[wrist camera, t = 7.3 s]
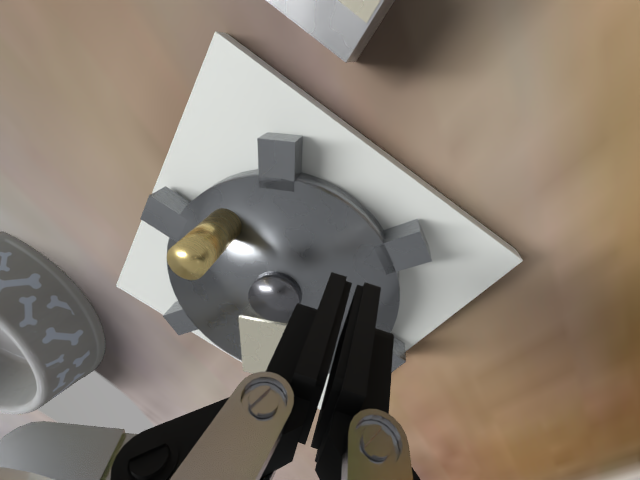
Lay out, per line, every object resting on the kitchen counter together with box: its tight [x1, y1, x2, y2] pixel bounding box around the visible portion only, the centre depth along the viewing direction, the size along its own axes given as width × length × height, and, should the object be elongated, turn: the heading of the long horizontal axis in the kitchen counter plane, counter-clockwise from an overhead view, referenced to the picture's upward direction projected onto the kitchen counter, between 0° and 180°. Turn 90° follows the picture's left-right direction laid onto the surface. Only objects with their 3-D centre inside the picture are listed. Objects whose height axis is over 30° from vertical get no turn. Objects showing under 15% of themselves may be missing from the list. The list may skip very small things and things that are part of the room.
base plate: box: [116, 31, 523, 410], centre depth 22 cm, size 19×19×1 cm
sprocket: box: [141, 132, 432, 374], centre depth 18 cm, size 18×17×6 cm
